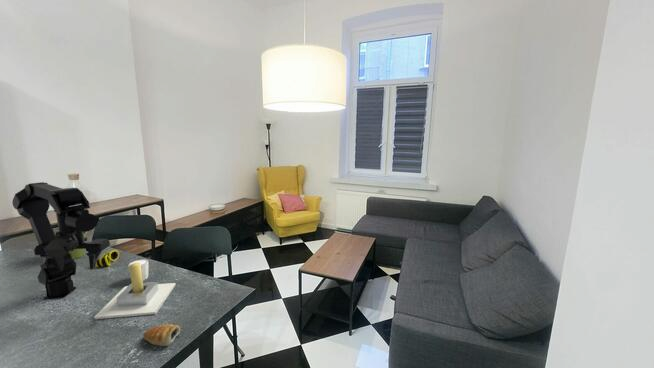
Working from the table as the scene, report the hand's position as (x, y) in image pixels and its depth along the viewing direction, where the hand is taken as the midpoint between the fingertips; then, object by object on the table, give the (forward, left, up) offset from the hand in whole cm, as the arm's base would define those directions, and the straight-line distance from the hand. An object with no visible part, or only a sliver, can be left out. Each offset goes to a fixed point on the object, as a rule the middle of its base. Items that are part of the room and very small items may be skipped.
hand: (77, 270), depth 91 cm
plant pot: (-29, +41, -13) cm, 52 cm away
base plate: (+18, 0, -13) cm, 22 cm away
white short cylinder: (+11, +16, -13) cm, 23 cm away
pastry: (+34, -21, -14) cm, 42 cm away
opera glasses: (-10, +33, -13) cm, 37 cm away
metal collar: (+18, 0, -13) cm, 22 cm away
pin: (+18, 0, -12) cm, 22 cm away
